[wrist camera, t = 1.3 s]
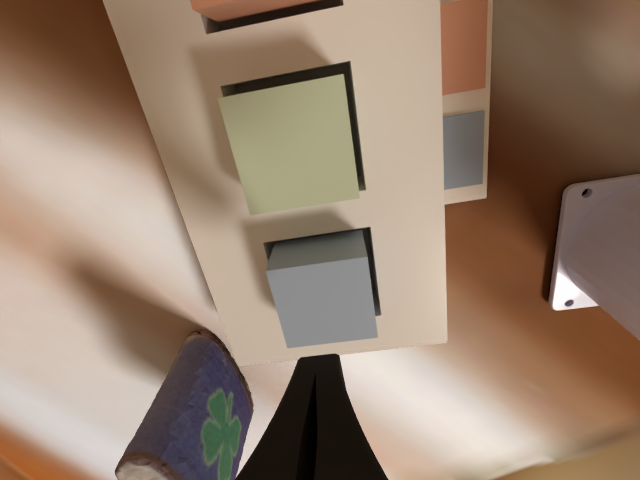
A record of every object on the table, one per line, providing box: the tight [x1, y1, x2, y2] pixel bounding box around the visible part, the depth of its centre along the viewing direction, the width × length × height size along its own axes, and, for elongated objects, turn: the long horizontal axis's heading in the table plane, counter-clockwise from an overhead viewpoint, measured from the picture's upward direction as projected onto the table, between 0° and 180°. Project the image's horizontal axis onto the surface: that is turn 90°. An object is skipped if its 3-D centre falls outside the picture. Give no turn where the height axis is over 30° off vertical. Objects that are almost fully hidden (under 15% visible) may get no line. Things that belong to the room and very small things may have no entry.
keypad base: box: [103, 0, 447, 366], centre depth 16 cm, size 12×24×3 cm, turn 10°
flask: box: [115, 330, 254, 480], centre depth 20 cm, size 9×3×11 cm, turn 14°
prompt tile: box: [440, 0, 493, 204], centre depth 16 cm, size 3×10×1 cm, turn 10°
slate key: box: [266, 230, 378, 348], centre depth 17 cm, size 4×4×3 cm
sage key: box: [217, 74, 360, 215], centre depth 14 cm, size 4×4×3 cm
